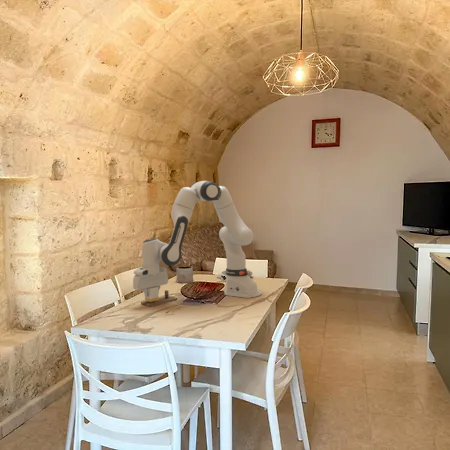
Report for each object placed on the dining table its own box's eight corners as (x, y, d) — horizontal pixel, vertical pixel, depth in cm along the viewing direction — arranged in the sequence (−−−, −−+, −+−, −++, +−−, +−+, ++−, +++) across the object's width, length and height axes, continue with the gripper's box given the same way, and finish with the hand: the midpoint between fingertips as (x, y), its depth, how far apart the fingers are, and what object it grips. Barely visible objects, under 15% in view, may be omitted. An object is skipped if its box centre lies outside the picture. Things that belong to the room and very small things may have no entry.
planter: (196, 280, 268) (196, 266, 268) (186, 284, 259) (186, 269, 259) (183, 279, 274) (183, 265, 274) (173, 282, 265) (172, 267, 264)
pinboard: (177, 299, 219) (176, 290, 219) (150, 306, 206) (149, 296, 206) (168, 297, 225) (167, 288, 225) (141, 304, 212) (140, 294, 212)
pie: (230, 273, 296) (230, 266, 296) (264, 277, 282) (264, 270, 282) (209, 280, 272) (209, 272, 272) (245, 284, 258) (245, 277, 258)
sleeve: (158, 299, 212) (158, 286, 212) (150, 301, 209) (150, 288, 208) (152, 298, 216) (152, 285, 215) (145, 300, 212) (144, 287, 211)
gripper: (163, 266, 220) (163, 290, 221) (131, 271, 206) (131, 298, 207) (170, 267, 216) (170, 292, 217) (138, 273, 201) (139, 300, 202)
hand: (151, 295), depth 212 cm, fingers closed on sleeve, 5 cm apart
